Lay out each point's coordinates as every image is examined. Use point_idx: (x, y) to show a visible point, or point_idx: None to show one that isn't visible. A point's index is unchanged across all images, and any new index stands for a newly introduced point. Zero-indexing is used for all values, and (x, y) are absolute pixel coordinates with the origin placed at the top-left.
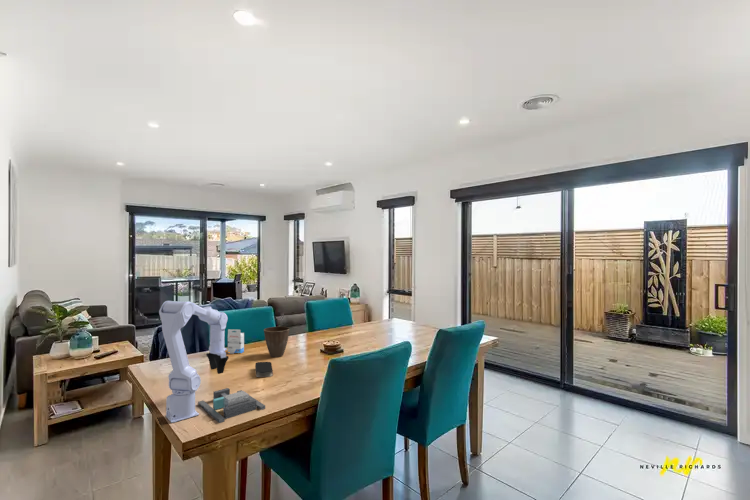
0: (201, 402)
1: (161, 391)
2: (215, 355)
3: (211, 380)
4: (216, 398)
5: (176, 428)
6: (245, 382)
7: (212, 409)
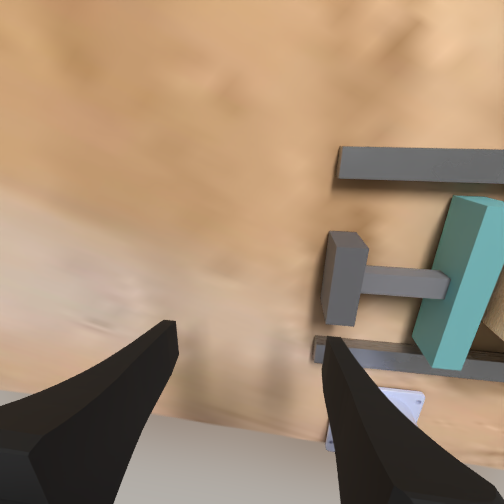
0: None
1: None
2: (88, 456)
3: (29, 188)
4: (437, 354)
5: None
6: (175, 26)
7: None
